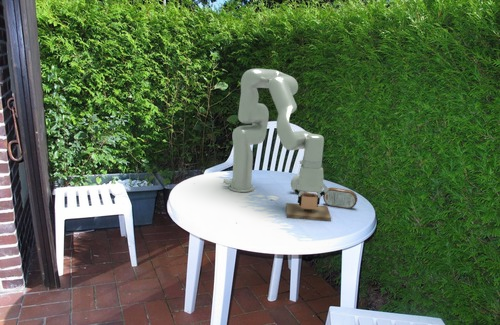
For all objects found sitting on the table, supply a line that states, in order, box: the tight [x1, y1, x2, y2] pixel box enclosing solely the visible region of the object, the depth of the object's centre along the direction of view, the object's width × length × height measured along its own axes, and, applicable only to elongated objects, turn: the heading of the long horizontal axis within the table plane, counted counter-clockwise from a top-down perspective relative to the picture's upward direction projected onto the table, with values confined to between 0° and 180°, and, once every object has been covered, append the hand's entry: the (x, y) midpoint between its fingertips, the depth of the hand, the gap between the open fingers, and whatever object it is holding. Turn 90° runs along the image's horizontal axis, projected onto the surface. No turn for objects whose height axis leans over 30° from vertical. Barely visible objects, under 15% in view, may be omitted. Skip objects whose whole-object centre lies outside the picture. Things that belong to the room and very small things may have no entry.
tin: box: [322, 186, 358, 210], centre depth 176 cm, size 15×3×8 cm, turn 71°
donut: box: [290, 173, 306, 193], centre depth 192 cm, size 10×3×10 cm, turn 104°
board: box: [285, 202, 332, 222], centre depth 166 cm, size 18×14×2 cm
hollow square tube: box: [301, 192, 318, 209], centre depth 165 cm, size 6×6×5 cm
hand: (308, 204), depth 165 cm, fingers closed on hollow square tube, 6 cm apart
